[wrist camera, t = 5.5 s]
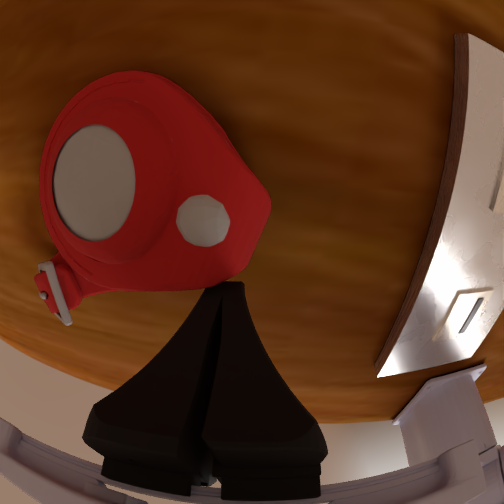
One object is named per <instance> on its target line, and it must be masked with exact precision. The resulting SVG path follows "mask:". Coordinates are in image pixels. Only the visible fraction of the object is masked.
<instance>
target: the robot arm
mask: <svg viewBox="0 0 504 504" xmlns="http://www.w3.org/2000/svg"><path fill="white" fill-rule="evenodd" d="M486 367H487V366H486V364H481V365H478V366H475V367H472V368H469V369H466V370H462V371H459V372H455V373H452V374H448V375H445V376H441V377H437V378H433V379H430V380H428V381H427V382H426V383H425V384H424V386H423V387H422V388H421V389H420V390H419V392H418V393H417V394H416V395H415V397H414V398H413V399H412V400H411V401H410V402H409V404H408V405H407V406H406V407H405V408H404V409H403V410H402V411H401V413H400V414H399V415H398V416H397V417H396V418H395V419H394V420H393V421H392V425H397V424H400V427H401V431H402V436H403V439H404V444H405V449H406V453H407V457H408V463H409V466H410V467H407V468H404V469H400V470H397V471H393V472H389V473H385V474H382V475H378V476H373V477H369V478H364V479H359V480H354V481H348V482H343V483H336V484H329V485H322V486H320V475H321V466H320V463H321V462H322V461H323V460H324V458H325V457H326V456H327V454H328V450H327V445H326V441H325V439H324V436H323V434H322V432H321V429H320V427H319V425H318V423H317V421H316V419H315V418H314V417H313V416H312V415H311V414H310V413H309V412H308V411H307V410H306V408H305V407H304V406H303V405H302V404H301V403H300V401H299V400H298V399H297V398H296V396H295V395H294V394H293V393H292V391H291V390H290V389H289V387H288V386H287V384H286V383H285V381H284V380H283V379H282V377H281V376H280V374H279V373H278V371H277V370H276V368H275V366H274V365H273V363H272V361H271V360H270V358H269V356H268V354H267V352H266V351H265V349H264V347H263V345H262V343H261V341H260V338H259V336H258V334H257V332H256V329H255V327H254V324H253V321H252V319H251V316H250V313H249V310H248V306H247V302H246V298H245V288H244V283H243V282H228V281H223V282H221V283H219V284H217V285H215V286H212V287H207V288H205V290H204V292H203V294H202V295H201V297H200V299H199V300H198V302H197V303H196V305H195V307H194V308H193V310H192V311H191V313H190V314H189V316H188V317H187V319H186V320H185V321H184V323H183V324H182V325H181V327H180V328H179V329H178V331H177V332H176V333H175V334H174V336H173V337H172V338H171V339H170V341H169V342H168V343H167V344H166V345H165V346H164V347H163V349H162V350H161V351H160V352H159V353H158V354H157V355H156V356H155V357H154V358H153V359H152V360H151V361H150V362H149V363H148V364H147V365H146V366H145V367H144V368H143V369H141V370H140V371H139V372H138V373H137V374H136V375H134V376H133V377H132V378H131V379H129V380H128V381H127V382H126V383H124V384H123V385H122V386H121V387H119V388H118V389H117V390H115V391H114V392H112V393H111V394H109V395H108V396H106V397H105V398H103V399H102V400H100V401H99V402H97V403H95V404H94V405H93V408H92V410H91V412H90V414H89V417H88V420H87V423H86V427H85V430H84V433H83V436H82V438H83V440H84V442H85V443H86V444H87V445H88V446H89V447H91V448H92V449H94V450H95V451H96V452H98V453H100V454H101V455H103V456H104V461H103V465H102V466H101V465H97V464H95V463H91V462H89V461H86V460H83V459H80V458H78V457H75V456H72V455H70V454H67V453H65V452H62V451H60V450H57V449H55V448H53V447H51V446H48V445H46V444H44V443H42V442H40V441H38V440H35V439H33V438H31V437H29V436H27V435H25V434H24V433H22V432H21V431H20V430H19V429H18V428H16V427H15V426H13V425H12V424H11V423H9V422H7V421H6V420H4V419H2V418H0V474H1V475H2V476H4V477H5V478H6V479H8V480H9V481H10V482H12V483H13V484H14V485H15V486H17V487H18V488H19V489H21V490H22V491H23V492H25V493H26V494H27V495H29V496H30V497H32V498H33V499H35V500H36V501H38V502H39V503H41V504H148V503H147V502H146V501H143V500H140V499H136V498H134V497H131V496H128V495H126V494H124V493H120V492H117V491H114V490H111V489H108V488H107V487H106V485H105V484H108V485H112V486H115V487H118V488H121V489H125V490H129V491H133V492H136V493H140V494H145V495H149V496H154V497H158V498H164V499H169V500H175V501H181V502H188V503H196V504H319V503H327V502H329V503H328V504H504V446H502V447H501V446H500V445H497V442H496V439H495V436H494V433H493V430H492V427H491V424H490V421H489V418H488V415H487V413H486V410H485V407H484V405H483V402H482V399H481V397H480V394H479V392H478V390H477V387H476V385H475V382H474V381H475V380H476V379H477V378H478V377H479V376H480V375H481V373H482V372H483V371H484V370H485V369H486ZM496 445H497V446H496ZM494 446H495V447H494ZM217 479H218V481H219V482H220V483H221V488H212V487H208V486H211V485H212V484H214V483H215V482H216V481H217ZM104 483H105V484H104ZM202 486H207V487H202Z"/></svg>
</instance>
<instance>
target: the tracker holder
mask: <svg viewBox="0 0 504 504" xmlns="http://www.w3.org/2000/svg"><path fill="white" fill-rule="evenodd" d="M39 192H40V202H41V208H42V212H43V217H44V220H45V223H46V226H47V229H48V231H49V234H50V236H51V238H52V240H53V242H54V244H55V246H56V247H57V249H58V251H59V252H58V253H57V254H56V255H55V256H54V257H53V258H52V259H51V260H50V261H47V262H42V263H39V264H38V268H39V271H40V273H39V274H37V275H35V277H34V280H35V282H36V284H37V287H38V289H39V296H40V297H41V298H42V299H44V301H45V303H46V304H47V306H48V308H49V310H50V311H51V313H54V314H55V315H56V316H57V317H58V318H59V319H60V320H61V321H62V322H63V323H64V324H65V325H67V326H68V325H70V324H72V318H71V316H70V313H69V310H70V309H74V308H76V307H77V306H78V305H79V304H80V303H81V301H82V298H84V297H88V296H92V295H95V294H99V293H103V292H110V291H118V290H125V291H181V290H196V289H202V288H207V287H212V286H215V285H217V284H219V283H221V282H223V281H225V280H227V279H229V278H231V277H233V276H235V275H237V274H238V273H240V272H241V271H242V270H243V269H245V267H246V266H247V265H248V263H249V261H250V258H251V256H252V254H253V252H254V249H255V247H256V245H257V243H258V240H259V238H260V236H261V233H262V231H263V229H264V227H265V224H266V222H267V220H268V218H269V215H270V213H271V206H272V203H271V199H270V196H269V193H268V191H267V190H266V189H265V187H264V186H263V185H262V183H261V182H260V181H259V180H258V178H257V177H256V176H255V175H254V174H253V172H252V171H251V170H250V169H249V168H248V166H247V165H246V164H245V162H244V161H243V159H242V158H241V157H240V155H239V154H238V152H237V151H236V149H235V148H234V146H233V144H232V143H231V141H230V140H229V138H228V136H227V134H226V133H225V131H224V129H223V128H222V127H221V126H220V125H219V123H218V122H217V121H216V120H215V119H214V117H213V116H212V115H211V114H210V113H209V112H208V111H207V110H206V109H205V108H204V107H203V106H202V105H201V104H200V103H199V102H198V101H197V100H196V99H195V98H194V97H192V96H191V95H190V94H189V93H188V92H186V91H185V90H184V89H182V88H181V87H180V86H178V85H177V84H175V83H174V82H172V81H170V80H169V79H167V78H165V77H163V76H161V75H158V74H155V73H150V72H144V71H137V70H132V71H123V72H115V73H112V74H109V75H106V76H103V77H101V78H99V79H97V80H95V81H93V82H91V83H90V84H88V85H87V86H86V87H84V88H83V89H82V90H80V91H79V92H78V93H77V94H76V95H75V96H74V97H73V98H72V99H71V100H70V101H69V102H68V103H67V105H66V106H65V107H64V108H63V110H62V111H61V112H60V114H59V115H58V117H57V119H56V120H55V122H54V124H53V126H52V128H51V130H50V133H49V135H48V138H47V140H46V143H45V146H44V150H43V155H42V159H41V164H40V173H39Z"/></svg>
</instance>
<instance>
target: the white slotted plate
mask: <svg viewBox="0 0 504 504" xmlns="http://www.w3.org/2000/svg"><path fill="white" fill-rule="evenodd" d="M454 41H455V74H454V94H453V107H452V117H451V126H450V133H449V141H448V147H447V153H446V159H445V164H444V170H443V175H442V180H441V184H440V189H439V193H438V197H437V201H436V205H435V209H434V213H433V217H432V221H431V224H430V228H429V231H428V235H427V238H426V241H425V244H424V247H423V251H422V254H421V257H420V260H419V263H418V265H417V268H416V271H415V274H414V277H413V279H412V282H411V285H410V287H409V290H408V292H407V295H406V297H405V300H404V302H403V305H402V307H401V310H400V312H399V314H398V317H397V319H396V321H395V323H394V326H393V328H392V330H391V332H390V334H389V336H388V339H387V341H386V343H385V345H384V347H383V349H382V351H381V353H380V355H379V357H378V359H377V361H376V363H375V365H374V368H375V371H376V375H377V377H382V376H388V375H394V374H400V373H406V372H411V371H416V370H421V369H426V368H430V367H435V366H439V365H443V364H447V363H451V362H455V361H459V360H463V359H466V358H470V357H471V356H472V355H473V354H474V352H475V351H476V350H477V348H478V347H479V345H480V344H481V342H482V341H483V340H484V338H485V337H486V335H487V334H488V332H489V331H490V329H491V328H492V326H493V325H494V323H495V321H496V320H497V318H498V317H499V315H500V313H501V312H502V310H503V308H504V53H503V52H502V51H500V50H498V49H497V48H495V47H493V46H491V45H490V44H488V43H486V42H484V41H482V40H481V39H479V38H477V37H475V36H473V35H471V34H469V33H462V34H454Z"/></svg>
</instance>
